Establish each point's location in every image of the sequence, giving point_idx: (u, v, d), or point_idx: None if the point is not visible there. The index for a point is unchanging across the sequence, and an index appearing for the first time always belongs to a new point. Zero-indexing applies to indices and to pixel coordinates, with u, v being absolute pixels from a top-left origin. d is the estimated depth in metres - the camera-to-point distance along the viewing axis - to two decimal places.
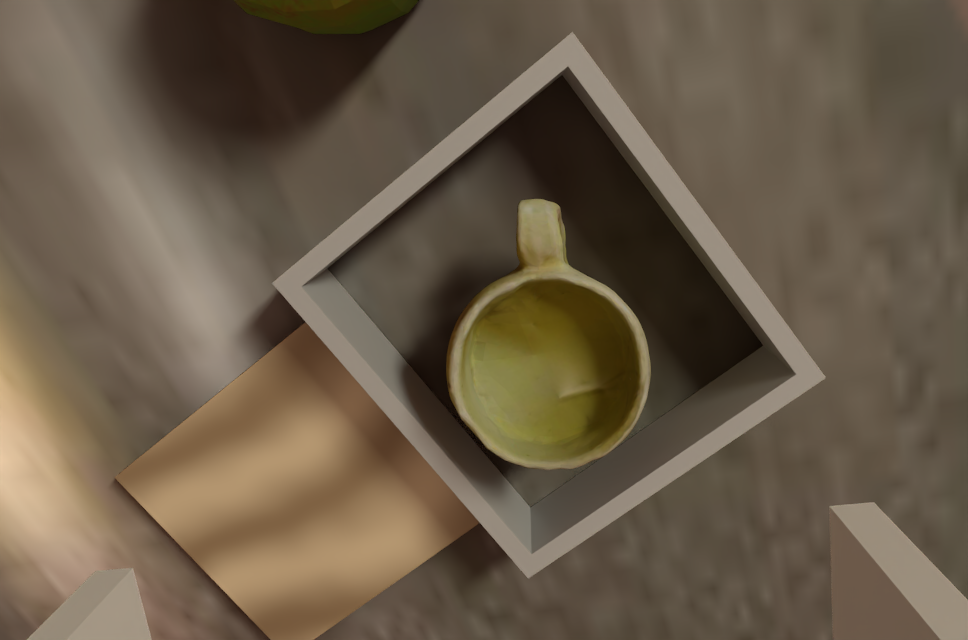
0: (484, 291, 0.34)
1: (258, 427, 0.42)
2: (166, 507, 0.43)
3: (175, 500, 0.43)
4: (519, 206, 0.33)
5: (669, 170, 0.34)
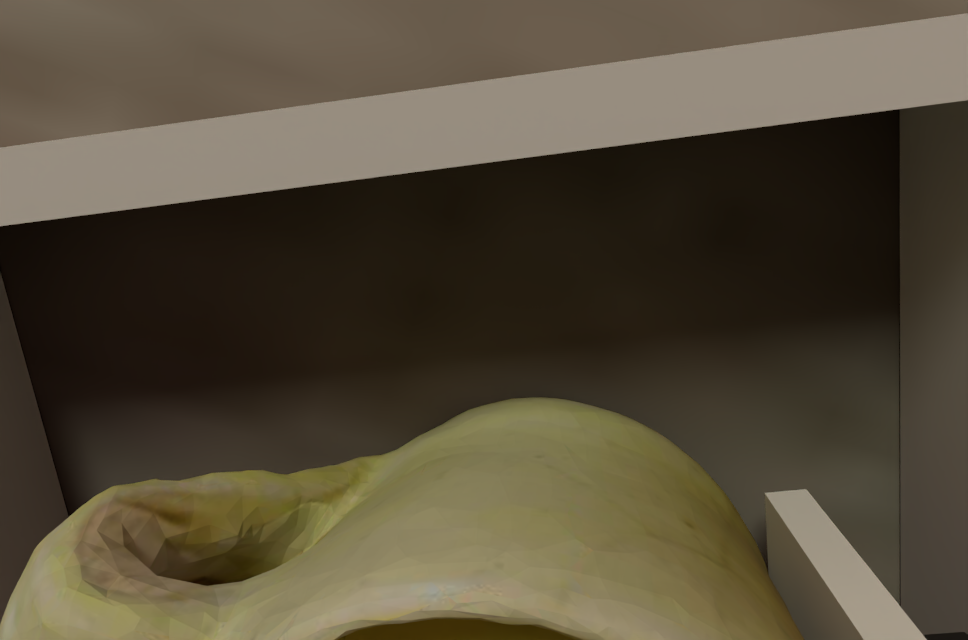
0: None
1: None
2: None
3: None
4: None
5: (165, 137, 0.10)
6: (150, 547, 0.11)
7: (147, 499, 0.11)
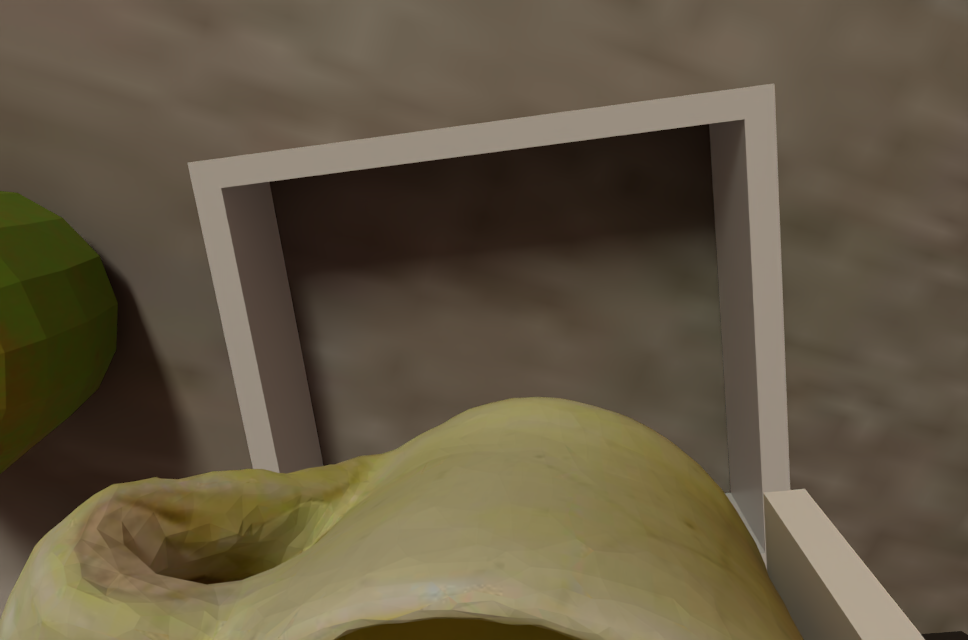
0: None
1: None
2: None
3: None
4: None
5: (397, 139, 0.25)
6: (150, 545, 0.11)
7: (147, 497, 0.11)
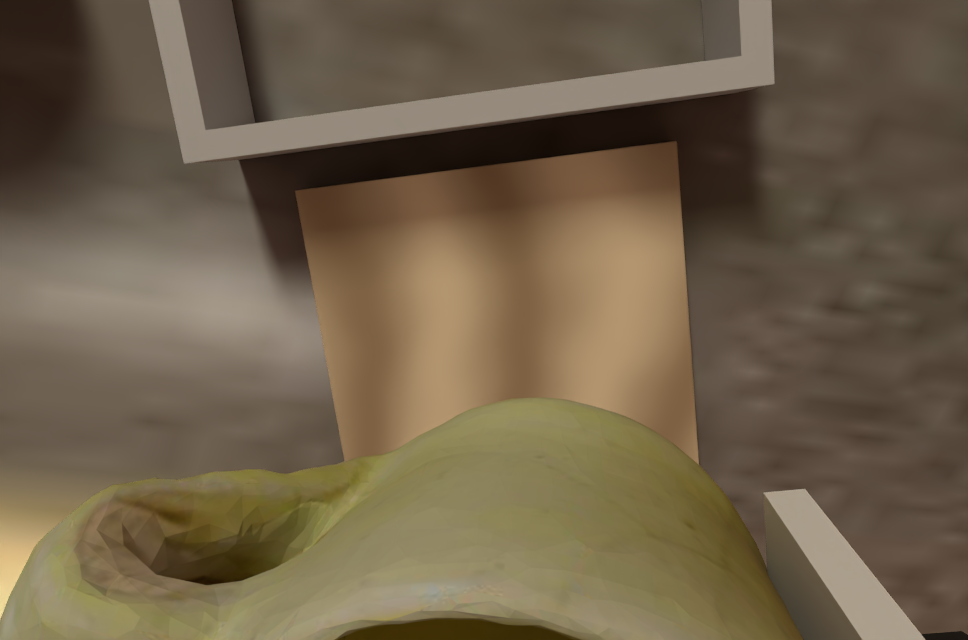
0: None
1: (390, 333, 0.31)
2: None
3: None
4: None
5: None
6: (150, 546, 0.11)
7: (147, 498, 0.11)
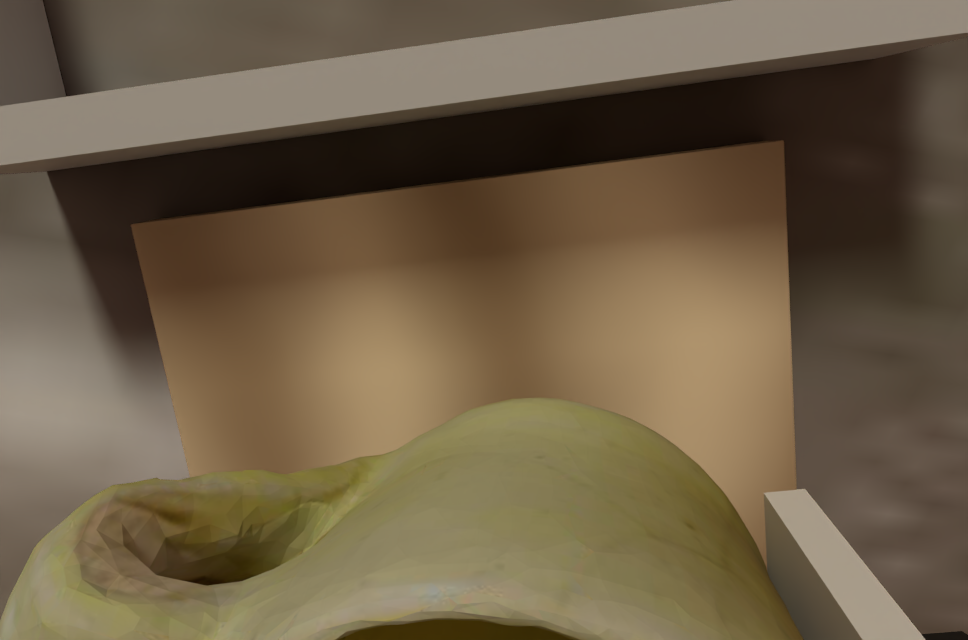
0: None
1: (298, 456, 0.19)
2: None
3: None
4: None
5: None
6: (150, 547, 0.11)
7: (147, 498, 0.11)
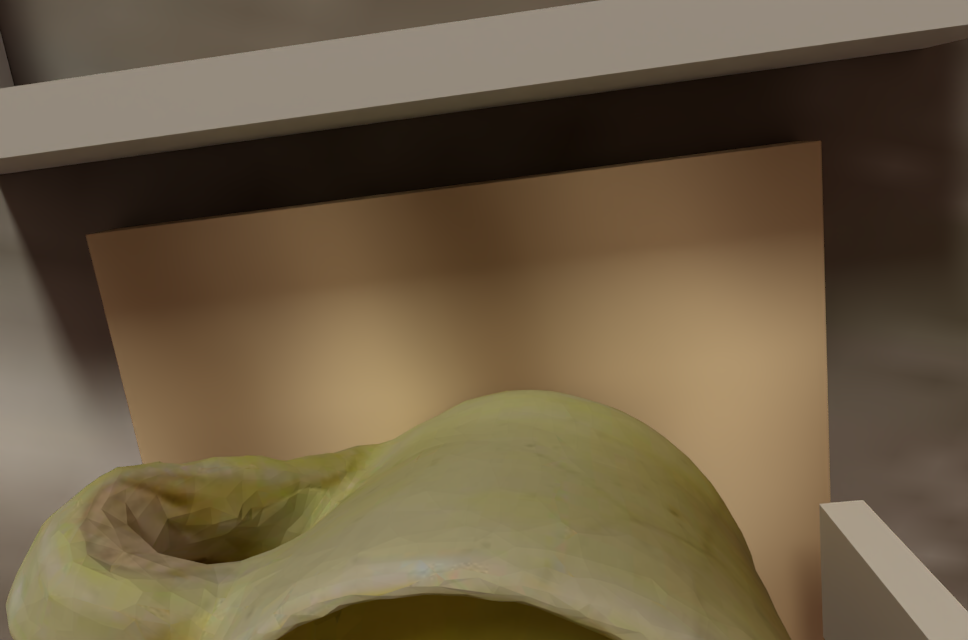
0: None
1: None
2: None
3: None
4: (7, 604, 0.11)
5: None
6: (152, 527, 0.11)
7: (150, 481, 0.12)
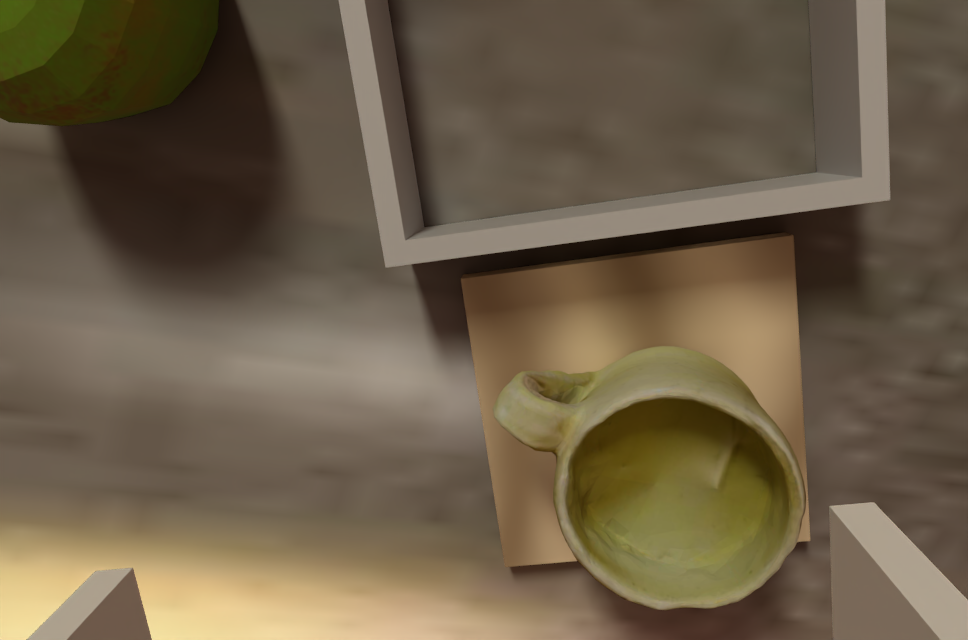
0: (554, 503, 0.29)
1: None
2: (565, 542, 0.37)
3: None
4: (495, 417, 0.30)
5: None
6: None
7: (534, 376, 0.30)
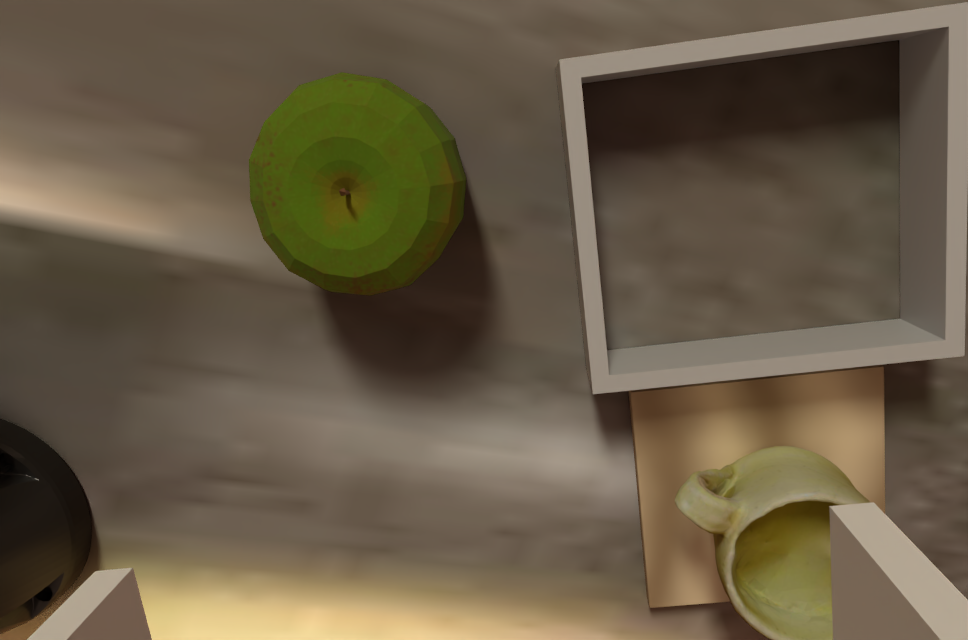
0: (721, 571, 0.41)
1: (685, 481, 0.47)
2: (698, 589, 0.49)
3: (697, 579, 0.48)
4: (678, 508, 0.41)
5: (708, 42, 0.37)
6: None
7: (702, 476, 0.42)
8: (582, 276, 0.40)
